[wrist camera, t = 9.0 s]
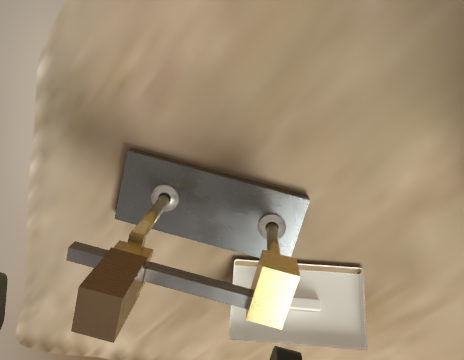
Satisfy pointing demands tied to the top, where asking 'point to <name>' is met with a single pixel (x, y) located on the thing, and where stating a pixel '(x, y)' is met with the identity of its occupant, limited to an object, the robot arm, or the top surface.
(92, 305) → the block
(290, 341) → the light switch
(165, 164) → the bolt plate
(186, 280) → the dividers frame
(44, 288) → the top surface
